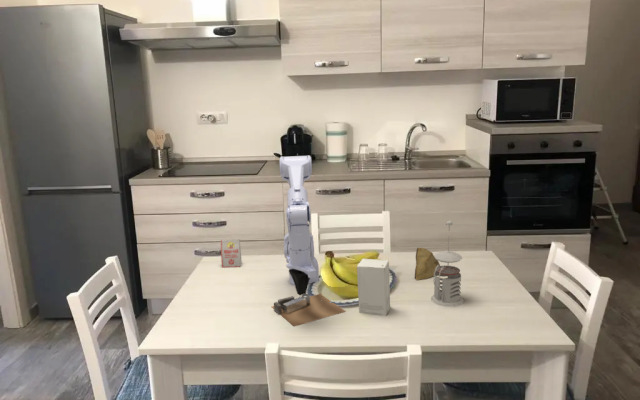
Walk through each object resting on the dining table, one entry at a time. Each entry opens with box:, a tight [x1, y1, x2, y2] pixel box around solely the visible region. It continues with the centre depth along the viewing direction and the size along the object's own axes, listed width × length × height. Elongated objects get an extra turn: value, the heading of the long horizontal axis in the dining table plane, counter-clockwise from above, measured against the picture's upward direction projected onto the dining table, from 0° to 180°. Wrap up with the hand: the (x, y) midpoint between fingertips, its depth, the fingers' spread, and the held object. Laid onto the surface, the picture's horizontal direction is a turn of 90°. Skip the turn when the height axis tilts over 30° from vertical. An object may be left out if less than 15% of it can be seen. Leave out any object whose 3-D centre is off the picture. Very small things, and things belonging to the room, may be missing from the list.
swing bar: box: [283, 293, 311, 314], centre depth 154 cm, size 9×2×3 cm, turn 132°
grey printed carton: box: [220, 239, 243, 269], centre depth 192 cm, size 4×7×10 cm, turn 91°
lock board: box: [271, 293, 347, 327], centre depth 153 cm, size 17×15×4 cm
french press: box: [430, 220, 464, 307], centre depth 155 cm, size 10×12×25 cm
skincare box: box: [356, 258, 391, 316], centre depth 150 cm, size 8×7×16 cm
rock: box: [414, 247, 441, 281], centre depth 177 cm, size 11×9×10 cm
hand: (301, 293), depth 146 cm, fingers closed
